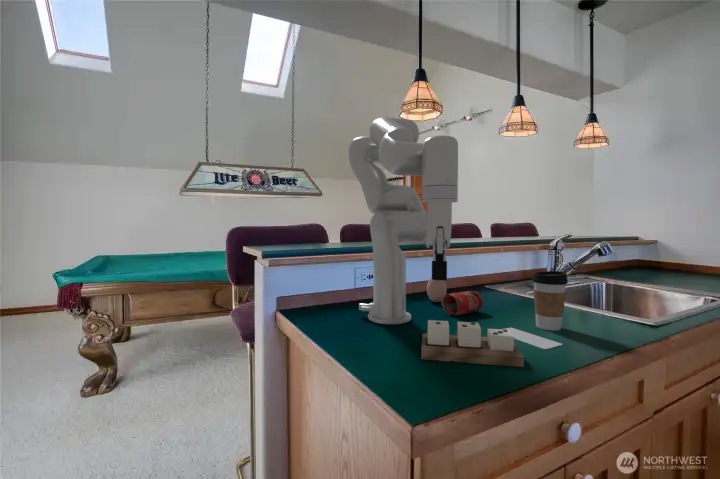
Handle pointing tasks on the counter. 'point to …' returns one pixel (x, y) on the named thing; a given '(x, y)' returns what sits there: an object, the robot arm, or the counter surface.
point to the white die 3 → (500, 340)
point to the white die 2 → (468, 334)
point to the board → (470, 353)
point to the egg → (436, 289)
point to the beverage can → (462, 303)
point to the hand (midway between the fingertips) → (439, 279)
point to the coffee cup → (549, 298)
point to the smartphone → (533, 339)
